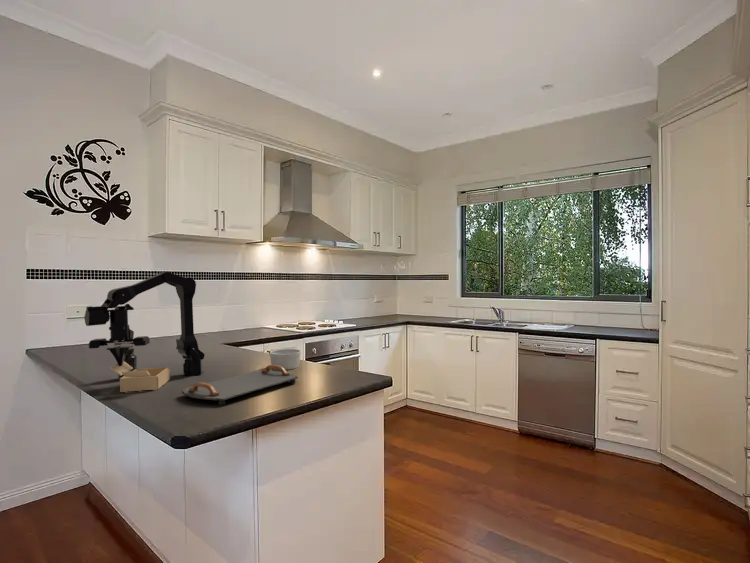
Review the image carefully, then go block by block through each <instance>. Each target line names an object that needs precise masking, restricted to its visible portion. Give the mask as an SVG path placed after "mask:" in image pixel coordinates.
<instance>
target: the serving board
mask: <svg viewBox="0 0 750 563" xmlns="http://www.w3.org/2000/svg"><path fill="white" fill-rule="evenodd" d="M274 368H275V369H274ZM270 369H274V370H270ZM276 369H279V370H277V371H276ZM298 378H299V377H298V376H297V375H295V374H293V373H290V372H288V371H287V370H285V369H284V368H283V367H282V366H279V365H271V364H269V365H266V367H265V368H264V369H262V370H253V371H248V372H246V373H241V374H237V375H234V376H230V377H225V378H221V379H217V380H213V381H210V382H204V381H203V382H197V383H194V384H193V386H189V387H186V388H183V389H181V394H182V395H183V396H184V398H186V399H187V397H188V398H192V399H199V400H208V401H218V403H217V404H218V406H225V405H226V400H230V399H232V398H236V397H240V396H243V395H246V394H250V393H254V392H256V391H260V390H264V389H267V388H270V387H274V386H277V385H280V384H283V383H286V382H289V384H295V383H296V382H297V379H298Z"/></svg>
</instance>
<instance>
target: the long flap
mask: <svg viewBox="0 0 750 563" xmlns="http://www.w3.org/2000/svg"><path fill="white" fill-rule="evenodd" d="M110 369H111V370H112V371H113V372H115V373H116V374H117V375H118V374H119V375H120V376H121V375H123V374H122V373H121V372H126V371H130V370H132V369H133V367H131V366H130V365H129V364H127V363H126V362H123V365H122V366H119V365H118V363H117V364H115V365H113V366H111V367H110Z"/></svg>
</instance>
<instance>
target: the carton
mask: <svg viewBox="0 0 750 563" xmlns="http://www.w3.org/2000/svg"><path fill="white" fill-rule="evenodd" d="M142 370H147V371H148V372H149V373H150V376H134V377H125V376H123V377H122V378H120V380H119V393H120V392H125V391H138V390H153V391H158V390H160V389H161V388H162V385H163V386H164V385H165V384H166V383H168V382H169V381H170V380H171V371H170V370H171V368H170V367H168V366H167V367H166V366H164V367H151V368H150V367H149V368H137V369H135V370H133V371H142ZM157 389H158V390H157ZM125 393H126V392H125Z"/></svg>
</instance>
